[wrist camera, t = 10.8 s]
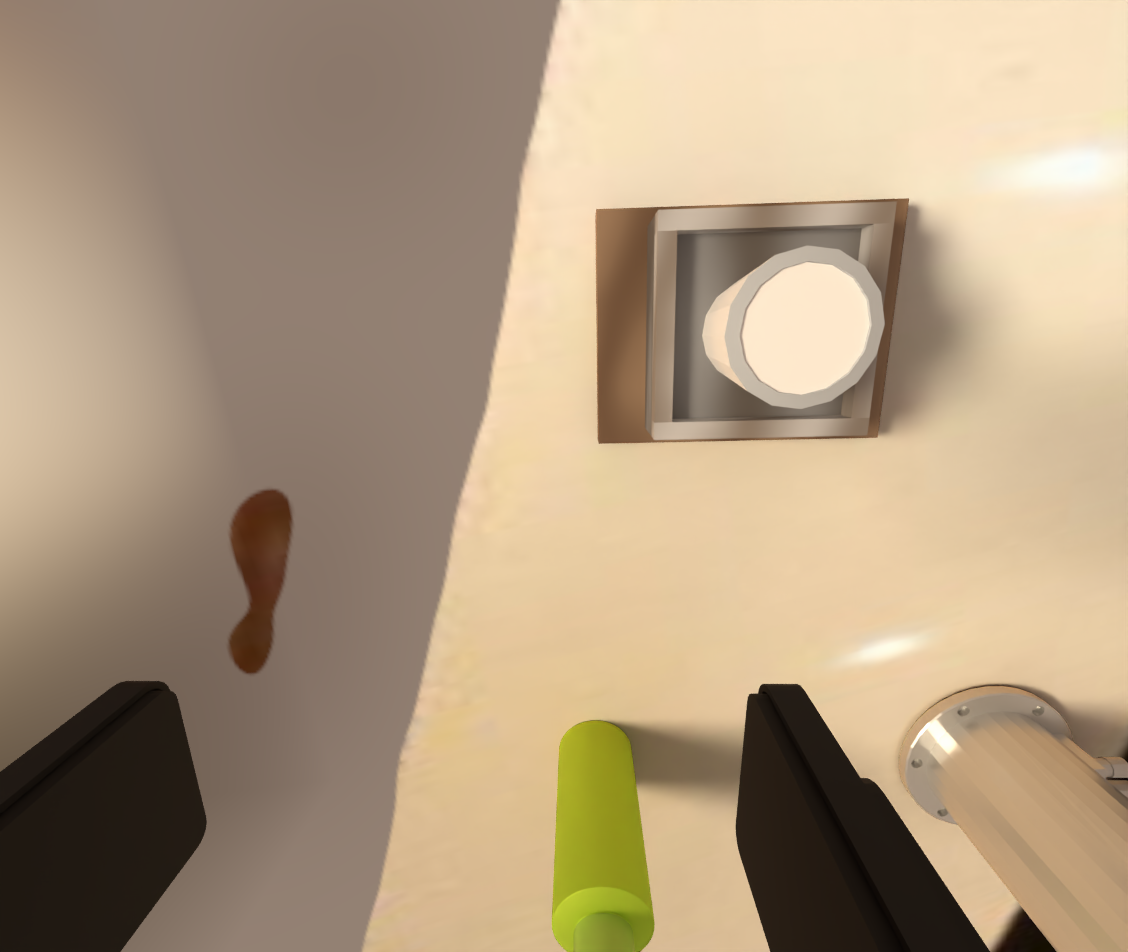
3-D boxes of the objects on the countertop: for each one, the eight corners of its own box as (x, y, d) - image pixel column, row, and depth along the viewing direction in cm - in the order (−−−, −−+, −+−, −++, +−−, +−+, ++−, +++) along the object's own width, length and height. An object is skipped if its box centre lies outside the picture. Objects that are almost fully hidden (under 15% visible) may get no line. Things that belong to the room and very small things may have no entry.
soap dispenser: (624, 793, 44) (663, 1158, 24) (548, 765, 43) (524, 1117, 24) (655, 739, 42) (721, 1083, 23) (576, 710, 41) (575, 1036, 22)
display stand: (893, 204, 32) (961, 177, 26) (865, 433, 35) (918, 451, 30) (595, 215, 32) (599, 190, 27) (597, 439, 36) (601, 458, 30)
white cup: (817, 260, 28) (893, 237, 22) (811, 388, 30) (880, 403, 23) (690, 271, 29) (725, 252, 22) (692, 397, 30) (725, 415, 24)
